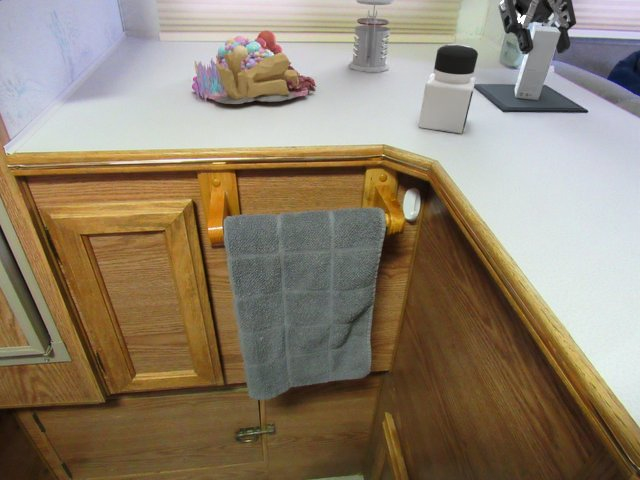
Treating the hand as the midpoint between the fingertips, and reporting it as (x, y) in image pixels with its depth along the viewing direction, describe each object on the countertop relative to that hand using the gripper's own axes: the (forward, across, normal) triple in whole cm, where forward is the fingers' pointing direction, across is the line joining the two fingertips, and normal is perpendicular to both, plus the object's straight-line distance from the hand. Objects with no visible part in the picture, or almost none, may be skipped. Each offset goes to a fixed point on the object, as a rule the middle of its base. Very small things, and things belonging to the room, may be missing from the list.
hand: (546, 51), depth 77 cm
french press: (-13, -24, +26) cm, 38 cm away
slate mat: (+5, 0, +7) cm, 9 cm away
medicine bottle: (+13, -23, 0) cm, 26 cm away
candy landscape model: (-5, -52, +18) cm, 55 cm away
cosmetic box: (+5, 0, +7) cm, 9 cm away
